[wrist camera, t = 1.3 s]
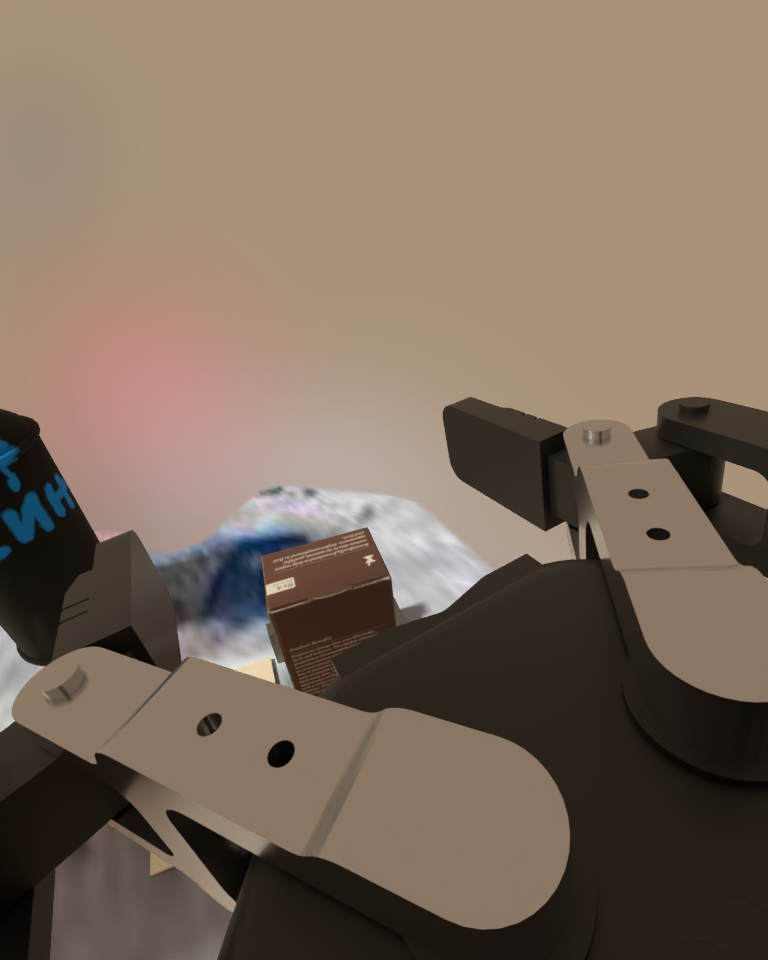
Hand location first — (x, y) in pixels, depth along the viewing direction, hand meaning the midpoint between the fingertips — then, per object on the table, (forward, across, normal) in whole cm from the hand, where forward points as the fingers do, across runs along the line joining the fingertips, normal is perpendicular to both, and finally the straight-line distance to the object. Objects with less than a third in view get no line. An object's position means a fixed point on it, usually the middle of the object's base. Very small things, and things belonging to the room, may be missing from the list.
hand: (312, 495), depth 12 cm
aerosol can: (+27, +16, +17) cm, 36 cm away
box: (+11, 0, +21) cm, 23 cm away
